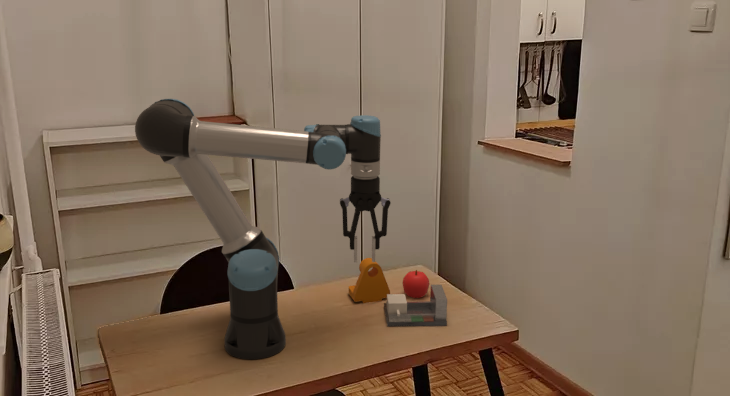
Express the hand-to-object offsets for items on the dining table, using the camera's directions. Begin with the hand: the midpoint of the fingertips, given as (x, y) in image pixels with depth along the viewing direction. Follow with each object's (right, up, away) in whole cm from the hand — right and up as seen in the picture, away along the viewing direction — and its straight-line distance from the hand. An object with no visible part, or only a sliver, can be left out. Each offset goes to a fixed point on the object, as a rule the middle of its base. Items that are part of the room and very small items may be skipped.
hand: (364, 260), depth 177 cm
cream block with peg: (+9, -15, +3) cm, 18 cm away
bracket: (+1, -13, +17) cm, 21 cm away
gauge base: (+14, -16, +5) cm, 22 cm away
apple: (+15, -12, +19) cm, 27 cm away
